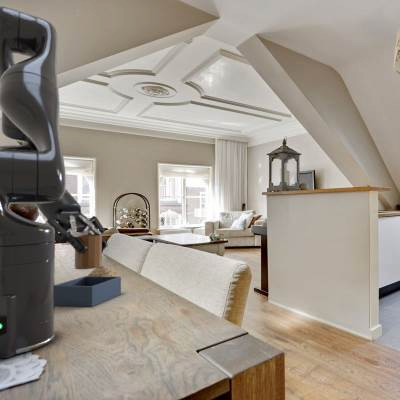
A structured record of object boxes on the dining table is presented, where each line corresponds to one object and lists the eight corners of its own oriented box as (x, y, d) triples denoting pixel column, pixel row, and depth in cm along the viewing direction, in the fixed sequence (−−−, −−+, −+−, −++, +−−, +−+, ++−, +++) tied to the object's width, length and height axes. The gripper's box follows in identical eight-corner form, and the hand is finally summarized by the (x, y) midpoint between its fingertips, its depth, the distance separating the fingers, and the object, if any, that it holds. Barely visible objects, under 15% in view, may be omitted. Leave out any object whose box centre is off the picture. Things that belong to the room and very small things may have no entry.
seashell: (123, 269, 104) (108, 264, 97) (119, 286, 102) (103, 282, 94) (100, 269, 105) (83, 263, 97) (95, 286, 102) (77, 282, 95)
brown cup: (90, 269, 76) (90, 236, 76) (68, 269, 76) (69, 236, 76) (107, 265, 81) (107, 234, 81) (86, 264, 82) (86, 234, 82)
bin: (92, 306, 73) (92, 286, 73) (51, 305, 74) (52, 285, 74) (120, 294, 83) (121, 276, 83) (85, 293, 84) (85, 276, 84)
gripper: (36, 190, 73) (79, 242, 71) (88, 192, 87) (125, 236, 85) (17, 213, 74) (59, 265, 72) (71, 211, 88) (108, 255, 86)
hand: (94, 249), depth 78 cm, fingers closed on brown cup, 5 cm apart
